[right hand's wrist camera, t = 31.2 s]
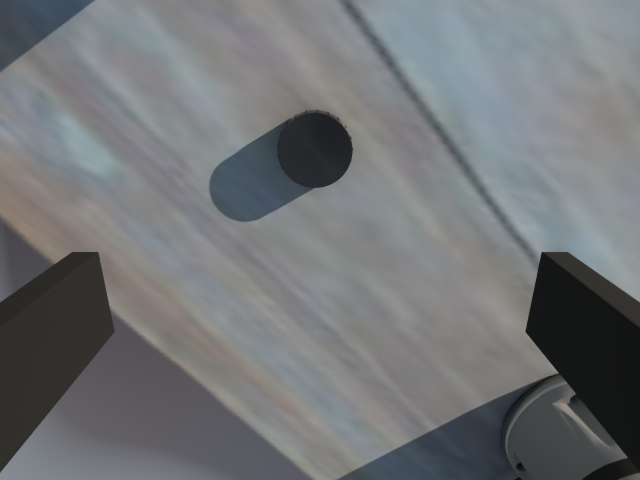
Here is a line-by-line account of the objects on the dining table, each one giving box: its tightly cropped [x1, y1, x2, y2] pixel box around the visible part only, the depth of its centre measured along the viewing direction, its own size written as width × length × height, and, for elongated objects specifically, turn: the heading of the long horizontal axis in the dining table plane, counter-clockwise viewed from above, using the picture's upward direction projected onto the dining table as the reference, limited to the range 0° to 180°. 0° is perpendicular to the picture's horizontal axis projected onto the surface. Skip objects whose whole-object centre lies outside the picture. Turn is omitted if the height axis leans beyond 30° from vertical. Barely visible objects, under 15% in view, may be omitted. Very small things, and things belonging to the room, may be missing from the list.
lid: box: [277, 109, 353, 188], centre depth 32 cm, size 6×6×2 cm
